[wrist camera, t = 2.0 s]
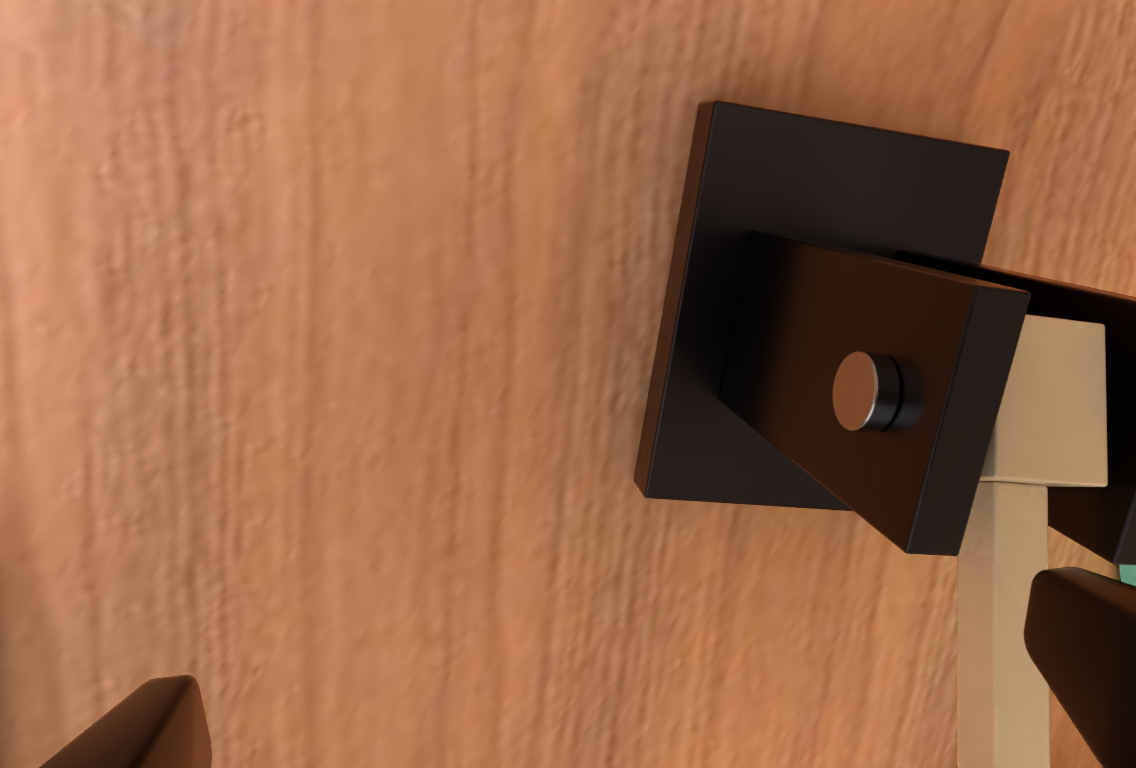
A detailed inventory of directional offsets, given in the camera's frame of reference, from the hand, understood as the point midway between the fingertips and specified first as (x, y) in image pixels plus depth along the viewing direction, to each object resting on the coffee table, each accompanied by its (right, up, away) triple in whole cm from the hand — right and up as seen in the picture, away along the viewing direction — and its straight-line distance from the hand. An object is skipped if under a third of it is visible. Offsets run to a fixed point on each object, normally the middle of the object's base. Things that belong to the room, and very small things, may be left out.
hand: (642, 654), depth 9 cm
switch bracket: (+6, +5, +14) cm, 16 cm away
